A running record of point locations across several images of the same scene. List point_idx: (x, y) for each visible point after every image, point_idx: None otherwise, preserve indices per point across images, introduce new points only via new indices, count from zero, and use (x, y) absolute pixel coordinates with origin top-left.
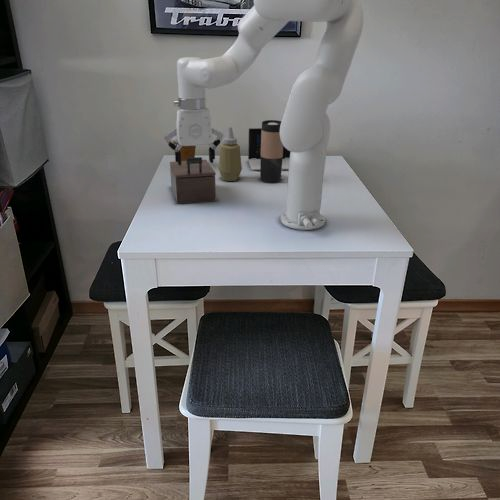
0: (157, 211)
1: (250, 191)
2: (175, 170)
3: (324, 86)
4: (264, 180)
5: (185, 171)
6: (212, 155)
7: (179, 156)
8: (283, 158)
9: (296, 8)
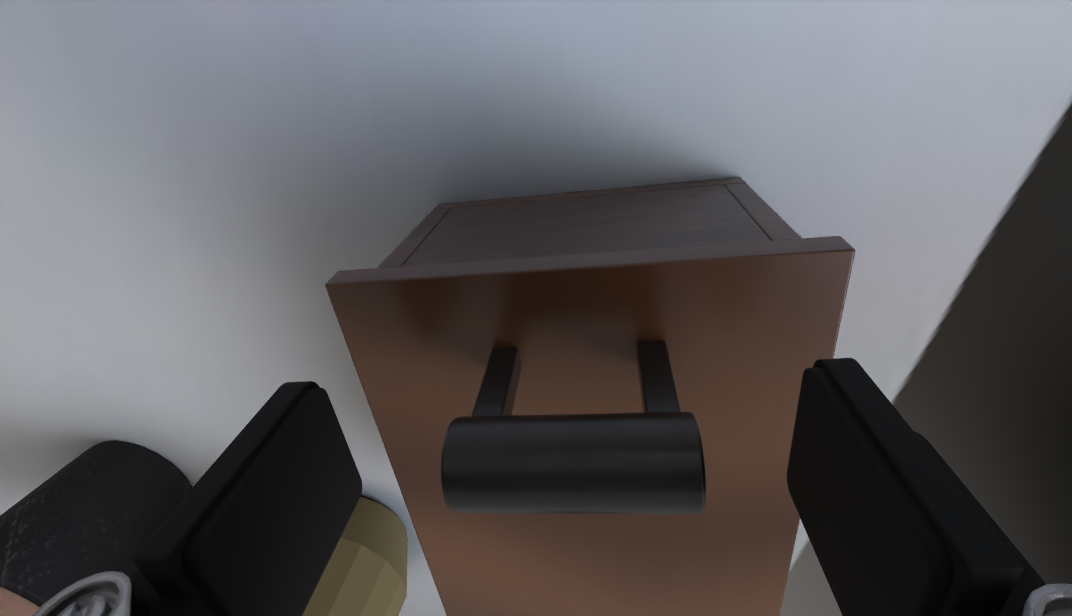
0: (960, 13)
1: (219, 342)
2: None
3: None
4: (158, 466)
5: (685, 388)
6: (223, 464)
7: (922, 471)
8: None
9: None
